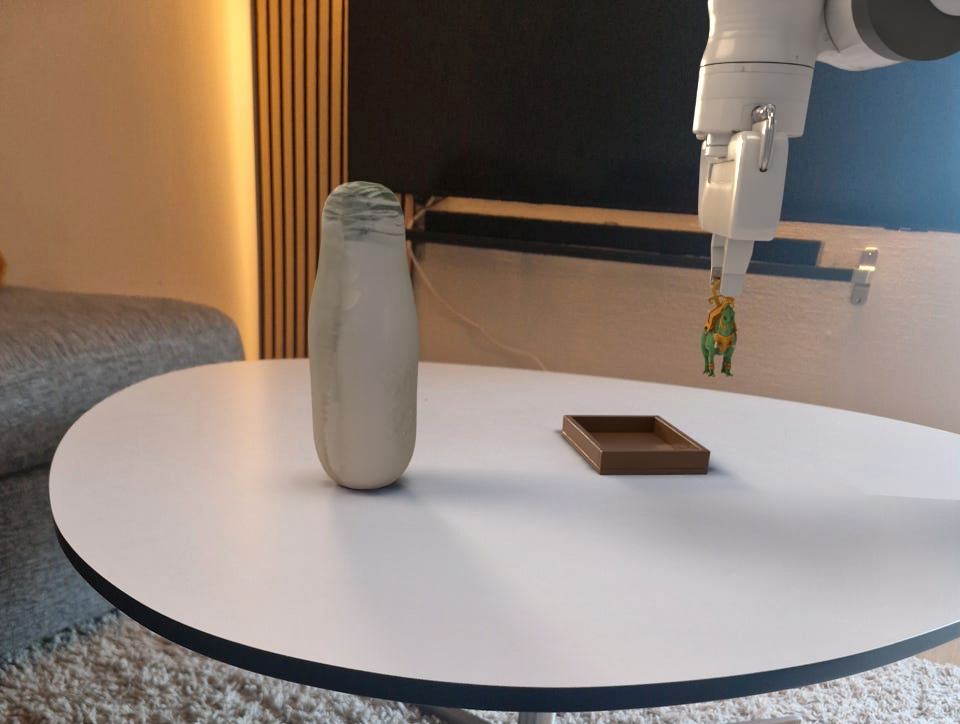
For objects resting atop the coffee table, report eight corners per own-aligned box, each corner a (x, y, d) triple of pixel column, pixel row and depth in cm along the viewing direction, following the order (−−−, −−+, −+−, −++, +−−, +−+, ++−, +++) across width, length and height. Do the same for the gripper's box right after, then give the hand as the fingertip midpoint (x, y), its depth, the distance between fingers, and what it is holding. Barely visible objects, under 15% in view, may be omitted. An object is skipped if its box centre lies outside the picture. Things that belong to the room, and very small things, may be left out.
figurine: (706, 381, 80) (713, 279, 77) (691, 368, 91) (697, 279, 88) (743, 380, 79) (751, 278, 76) (724, 368, 91) (730, 278, 88)
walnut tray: (707, 473, 104) (710, 451, 103) (599, 474, 102) (601, 451, 101) (656, 435, 120) (658, 415, 119) (561, 435, 118) (563, 414, 117)
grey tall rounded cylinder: (393, 506, 89) (393, 182, 77) (298, 492, 92) (283, 177, 80) (430, 479, 98) (435, 184, 85) (341, 467, 100) (334, 180, 88)
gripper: (820, 102, 66) (785, 308, 72) (766, 120, 84) (741, 283, 90) (730, 99, 66) (703, 304, 72) (695, 118, 84) (676, 280, 90)
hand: (724, 292), depth 81 cm, fingers closed on figurine, 4 cm apart
